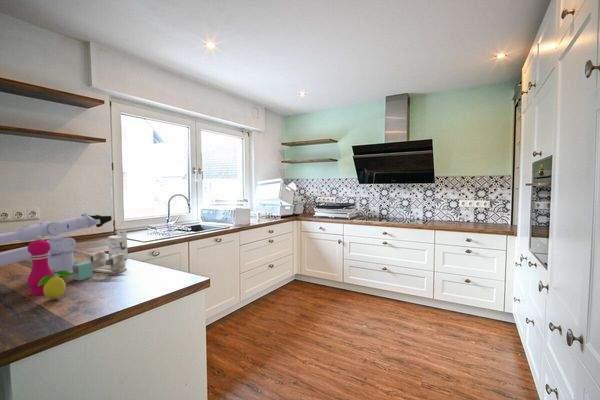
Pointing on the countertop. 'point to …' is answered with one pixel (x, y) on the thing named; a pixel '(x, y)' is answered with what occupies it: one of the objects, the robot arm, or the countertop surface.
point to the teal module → (82, 270)
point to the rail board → (101, 266)
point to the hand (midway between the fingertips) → (105, 217)
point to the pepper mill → (38, 264)
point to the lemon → (54, 284)
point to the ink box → (118, 244)
